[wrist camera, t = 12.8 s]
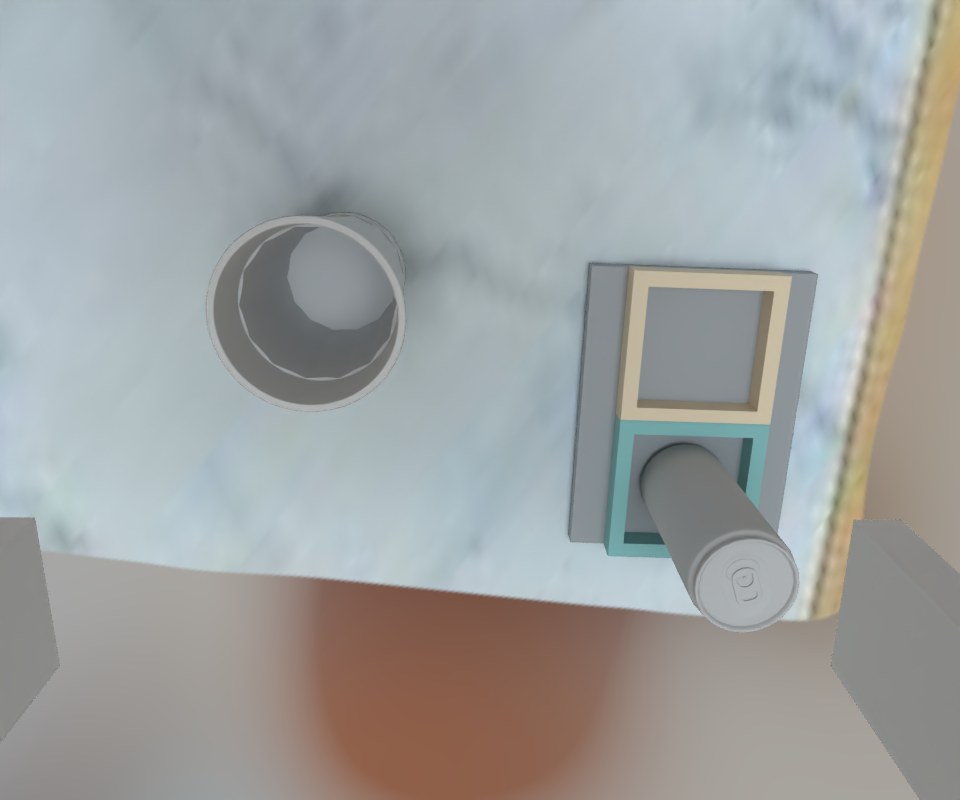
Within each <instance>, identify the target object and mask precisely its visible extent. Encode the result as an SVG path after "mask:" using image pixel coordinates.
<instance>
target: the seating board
mask: <svg viewBox="0 0 960 800" xmlns="http://www.w3.org/2000/svg"><path fill="white" fill-rule="evenodd" d="M817 277H818V274H816V273H813V272H809V271H783V270H756V269H730V268H703V267H677V266H650V265H624V264H597V263H589V275H588V288H587V301H586V314H585V327H584V340H583V353H582V366H581V379H580V392H579V405H578V417H577V430H576V443H575V456H574V469H573V482H572V495H571V508H570V521H569V534H568V535H569V538H570V542H582V543H604V546H605V549H606V552H607V555H608V556H625V557H660V558H671V556H670V554H669V552H668V550H667V547H666V545H665V543H664V541H663V539H662V537H661V535H660V533H659V531H658V529H657V527H656V525H655V523H654V521H653V519H652V517H651V515H650V513H649V511H648V509H647V507H646V505H645V503H644V501H643V499H642V496H641V489H640V484H641V477H642V474H643V472H644V470H645V467H646V466H647V464H648V463H649V462H650V461H651V459H652V458H653V457H654V456H656V455H657V454H658V453H660V452H661V451H662V450H665V449H667V448H669V447H672V446H676V445H682V444H688V445H696V446H699V447H702V448H705V449H707V450H708V451H710V452H711V453H713V454H714V455H715V456H716V457H717V459H718V460H719V461H720V462H721V464H722V465H723V466H724V467H725V469H726V470H727V471H728V472H729V474H730V475H731V476H732V477H733V479H734V480H735V481H736V483H737V484H738V485H739V486H740V488H741V489H742V490H743V491H744V493H745V494H746V495H747V496H748V498H749V499H750V500H751V502H752V503H753V504H754V505H755V507H756V508H757V509H758V510H759V512H760V513H761V514H762V515H763V517H764V518H765V519H766V520H767V522H768V523H769V524H770V526H771V527H772V528H773V529H774V531H775V532H776V533H778V527H779V520H780V514H781V508H782V501H783V495H784V488H785V482H786V476H787V469H788V463H789V456H790V450H791V444H792V437H793V431H794V424H795V418H796V412H797V405H798V399H799V392H800V386H801V380H802V373H803V367H804V360H805V354H806V348H807V341H808V335H809V328H810V322H811V316H812V309H813V303H814V296H815V290H816V284H817Z"/></svg>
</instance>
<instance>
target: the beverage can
mask: <svg viewBox="0 0 960 800" xmlns="http://www.w3.org/2000/svg"><path fill="white" fill-rule="evenodd" d="M640 489H641V496H642V499H643V501H644V503H645V505H646V507H647V509H648V511H649V513H650V515H651V517H652V519H653V521H654V523H655V525H656V527H657V529H658V531H659V533H660V535H661V537H662V539H663V541H664V543H665V545H666V547H667V550H668V552H669V554H670V556H671V558H672V560H673V562H674V564H675V566H676V568H677V571H678V573H679V575H680V577H681V579H682V581H683V583H684V585H685V587H686V590H687V592H688V594H689V596H690V598H691V600H692V602H693V604H694V605H695V606H696V607H697V608H698V610H699V611H700V612H701V613H702V614H703V615H704V616H705V617H706V618H707V619H708V620H709V621H710V622H711V623H713V624H715V625H716V626H718V627H719V628H723V629H726V630H729V631H733V632H750V631H756V630H760V629H762V628H765V627H767V626H770V625H772V624H773V623H775V622H776V621H777V620H779V619H780V618H782V617H783V616H784V615H785V613H786V612H787V611H788V610H789V609H790V608H791V606H792V604H793V602H794V601H795V599H796V597H797V593H798V588H799V572H798V569H797V567H796V564H795V561H794V559H793V556H792V554H791V551H790V550H789V548H788V547H787V546H786V544H785V543H784V542H783V541H782V539H781V538H780V537H779V536H778V534H777V533H776V532H775V531H774V529H773V528H772V527H771V526H770V524H769V523H768V522H767V520H766V519H765V518H764V517H763V515H762V514H761V513H760V512H759V510H758V509H757V508H756V507H755V505H754V504H753V503H752V502H751V500H750V499H749V498H748V496H747V495H746V494H745V493H744V491H743V490H742V489H741V488H740V486H739V485H738V484H737V483H736V481H735V480H734V479H733V477H732V476H731V475H730V474H729V472H728V471H727V470H726V469H725V467H724V466H723V465H722V464H721V462H720V461H719V460H718V459H717V457H716V456H715V455H714V454H713V453H711V452H710V451H708V450H707V449H705V448H702V447H699V446H696V445H688V444H682V445H676V446H672V447H669V448H667V449H665V450H662V451H661V452H660V453H658V454H657V455H656V456H654V457H653V458H652V459H651V461H650V462H649V463H648V464H647V466H646V467H645V470H644V472H643V474H642V477H641V484H640Z"/></svg>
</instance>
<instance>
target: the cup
mask: <svg viewBox="0 0 960 800" xmlns="http://www.w3.org/2000/svg"><path fill="white" fill-rule="evenodd" d="M404 284H405V264H404V259H403V256H402V253H401V250H400V248H399V246H398V244H397V243H396V241H395V240H394V238H393V237H392V236H391V234H390V233H389V232H388V231H387V230H386V229H385V228H384V227H382V226H381V225H380V224H378V223H377V222H375V221H374V220H372V219H370V218H368V217H365V216H362V215H359V214H354V213H333V214H329V215H325V216H287V217H281V218H277V219H273V220H270V221H267V222H264V223H262V224H259V225H257V226H255V227H253V228H252V229H250V230H248V231H247V232H245V233H244V234H243V235H241V236H240V237H239V238H238V239H236V240H235V241H234V242H233V243H232V244H231V245H230V246H229V248H228V249H227V250H226V251H225V253H224V254H223V255H222V257H221V258H220V260H219V262H218V263H217V265H216V267H215V269H214V271H213V274H212V277H211V280H210V283H209V287H208V292H207V299H206V318H207V325H208V330H209V334H210V337H211V340H212V343H213V346H214V348H215V350H216V352H217V354H218V356H219V358H220V360H221V361H222V363H223V364H224V366H225V367H226V369H227V370H228V371H229V373H230V374H231V375H232V376H233V377H234V378H235V379H236V380H237V381H238V382H239V383H240V384H241V385H242V386H243V387H245V388H246V389H247V390H248V391H250V392H251V393H253V394H254V395H256V396H257V397H259V398H261V399H263V400H265V401H267V402H269V403H271V404H274V405H276V406H279V407H282V408H286V409H290V410H296V411H305V412H319V411H327V410H333V409H337V408H340V407H343V406H346V405H349V404H351V403H353V402H355V401H357V400H359V399H361V398H363V397H364V396H366V395H367V394H368V393H370V392H371V391H372V390H374V389H375V388H376V387H377V386H378V385H379V384H380V383H381V382H382V381H383V380H384V379H385V377H386V376H387V375H388V374H389V372H390V371H391V369H392V368H393V366H394V364H395V362H396V360H397V358H398V356H399V354H400V351H401V348H402V345H403V341H404V336H405V329H406V309H405V300H404Z"/></svg>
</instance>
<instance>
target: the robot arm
mask: <svg viewBox="0 0 960 800" xmlns="http://www.w3.org/2000/svg"><path fill="white" fill-rule="evenodd" d="M59 666H60V663H59V657H58V651H57V646H56V639H55V633H54V628H53V621H52V615H51V609H50V604H49V598H48V592H47V586H46V580H45V574H44V568H43V562H42V557H41V551H40V545H39V539H38V533H37V527H36V521H35V518H0V743H1V742H2V741H3V739H4V738H5V737H6V735H7V734H8V733H9V731H10V730H11V729H12V727H13V726H14V725H15V724H16V722H17V721H18V720H19V718H20V717H21V716H22V714H23V713H24V712H25V710H26V709H27V708H28V706H29V705H30V704H31V703H32V701H33V700H34V699H35V697H36V696H37V695H38V694H39V692H40V691H41V690H42V688H43V687H44V686H45V684H46V683H47V682H48V680H49V679H50V678H51V677H52V675H53V674H54V673H55V671H56V670H57V669H58V667H59ZM831 667H832V669H833V670H834V672H835V673H836V675H837V676H838V678H839V679H840V680H841V682H842V684H843V685H844V687H845V688H846V690H847V691H848V693H849V694H850V696H851V697H852V699H853V700H854V702H855V703H856V705H857V706H858V708H859V709H860V711H861V712H862V714H863V715H864V717H865V718H866V720H867V721H868V723H869V724H870V726H871V727H872V729H873V730H874V732H875V733H876V735H877V736H878V738H879V739H880V741H881V742H882V744H883V745H884V747H885V748H886V750H887V751H888V753H889V754H890V756H891V757H892V759H893V760H894V762H895V763H896V765H897V766H898V768H899V770H900V771H901V772H902V774H903V776H904V777H905V778H906V780H907V782H908V783H909V784H910V786H911V787H912V789H913V790H914V792H915V794H916V795H917V797H918V798H919V799H920V800H960V574H959V573H958V572H957V571H956V570H955V569H954V568H953V567H952V566H951V565H950V564H948V563H947V562H946V561H945V560H944V559H943V558H942V557H941V556H940V555H939V554H938V553H936V552H935V551H934V550H933V549H932V548H931V547H930V546H929V545H928V544H927V543H926V542H925V541H923V540H922V539H921V538H920V537H919V536H918V535H917V534H916V533H915V532H914V531H912V530H911V529H910V528H909V527H908V526H907V525H906V524H905V523H904V522H902V521H901V520H854V522H853V528H852V534H851V541H850V547H849V553H848V560H847V566H846V572H845V579H844V585H843V591H842V598H841V604H840V610H839V617H838V623H837V629H836V636H835V642H834V648H833V655H832V661H831Z"/></svg>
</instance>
